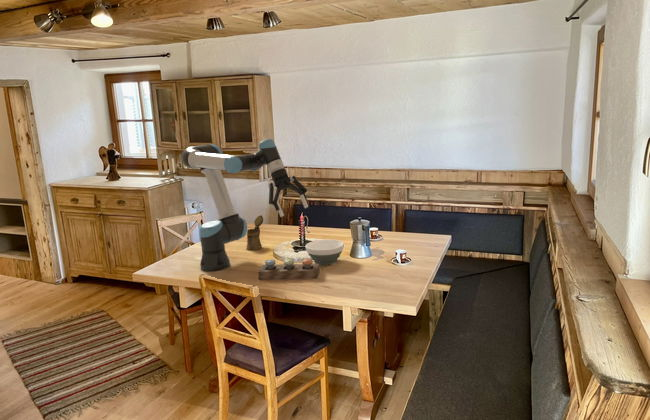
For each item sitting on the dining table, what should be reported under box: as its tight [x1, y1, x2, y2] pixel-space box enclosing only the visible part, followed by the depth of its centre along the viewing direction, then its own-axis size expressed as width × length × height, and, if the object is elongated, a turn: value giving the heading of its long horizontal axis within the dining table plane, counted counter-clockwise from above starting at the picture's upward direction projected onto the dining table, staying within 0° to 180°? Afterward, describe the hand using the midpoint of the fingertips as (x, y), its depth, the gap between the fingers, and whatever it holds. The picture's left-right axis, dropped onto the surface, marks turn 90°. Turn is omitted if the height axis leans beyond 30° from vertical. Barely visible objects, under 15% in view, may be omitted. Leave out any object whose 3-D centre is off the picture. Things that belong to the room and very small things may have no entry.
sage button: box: [283, 258, 295, 269], centre depth 223 cm, size 5×5×4 cm
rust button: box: [301, 258, 314, 269], centre depth 221 cm, size 5×5×4 cm
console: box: [257, 263, 321, 281], centre depth 223 cm, size 28×10×4 cm, turn 83°
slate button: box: [264, 259, 276, 270], centre depth 224 cm, size 5×5×4 cm
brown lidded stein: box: [246, 215, 264, 251], centre depth 274 cm, size 9×14×18 cm, turn 148°
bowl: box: [305, 238, 345, 267], centre depth 239 cm, size 20×20×10 cm
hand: (294, 212), depth 220 cm, fingers open, 13 cm apart
